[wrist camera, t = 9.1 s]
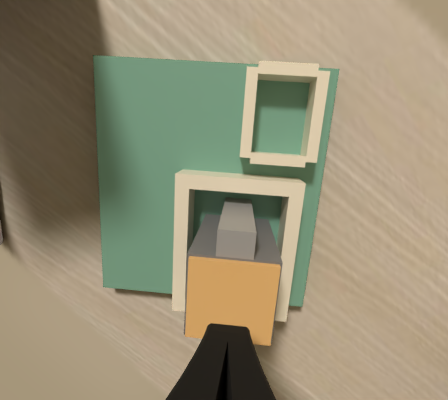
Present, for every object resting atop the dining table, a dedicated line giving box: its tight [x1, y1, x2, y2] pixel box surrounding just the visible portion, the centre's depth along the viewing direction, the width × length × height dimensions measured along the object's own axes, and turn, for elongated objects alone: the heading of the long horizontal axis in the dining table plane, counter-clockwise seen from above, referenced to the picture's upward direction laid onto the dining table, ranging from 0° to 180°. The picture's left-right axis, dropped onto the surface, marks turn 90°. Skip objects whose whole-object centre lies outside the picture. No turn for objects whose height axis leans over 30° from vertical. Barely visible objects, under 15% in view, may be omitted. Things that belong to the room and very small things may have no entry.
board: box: [93, 55, 339, 322], centre depth 16 cm, size 14×15×3 cm
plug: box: [184, 197, 283, 346], centre depth 14 cm, size 4×5×6 cm
